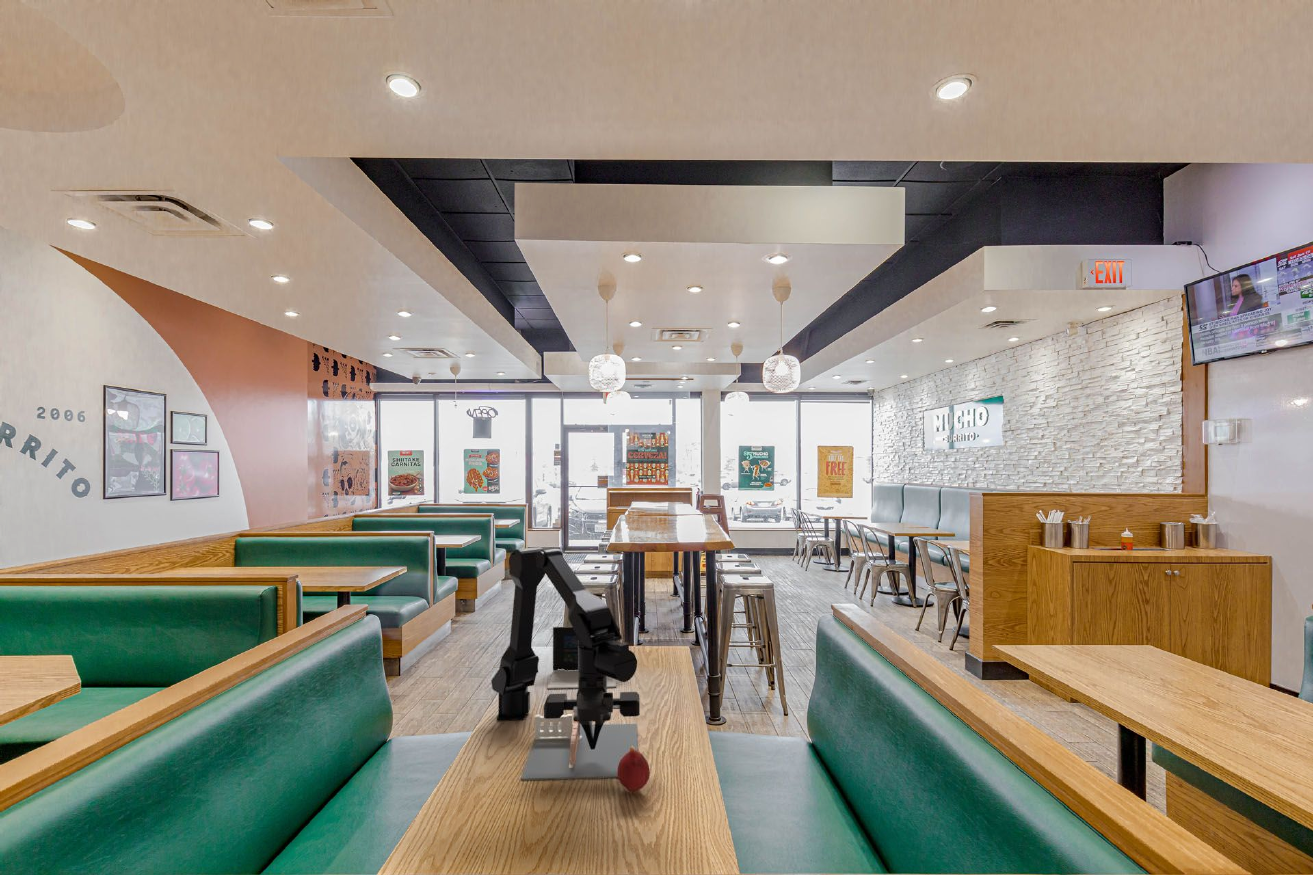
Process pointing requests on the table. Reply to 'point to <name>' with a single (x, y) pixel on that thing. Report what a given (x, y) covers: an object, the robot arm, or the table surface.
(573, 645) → the laptop
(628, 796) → the table surface
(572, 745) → the fence gate
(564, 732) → the fence fixed
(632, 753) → the onion
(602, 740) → the mat
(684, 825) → the table surface
